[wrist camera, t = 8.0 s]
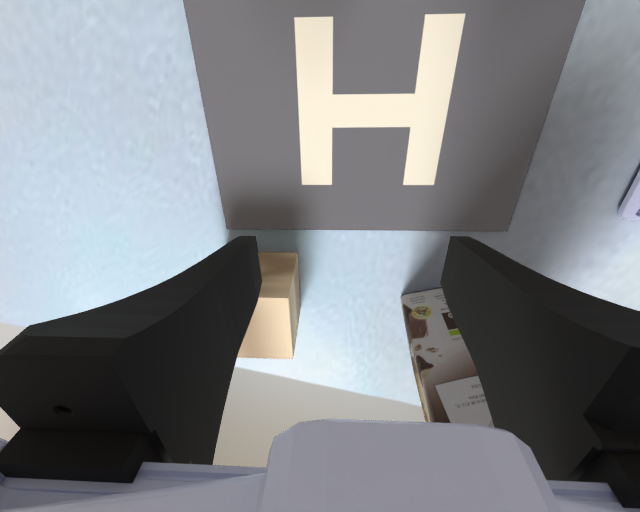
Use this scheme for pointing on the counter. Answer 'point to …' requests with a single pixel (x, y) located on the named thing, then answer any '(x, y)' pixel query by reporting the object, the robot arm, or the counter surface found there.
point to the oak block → (274, 309)
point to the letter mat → (376, 108)
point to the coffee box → (442, 362)
